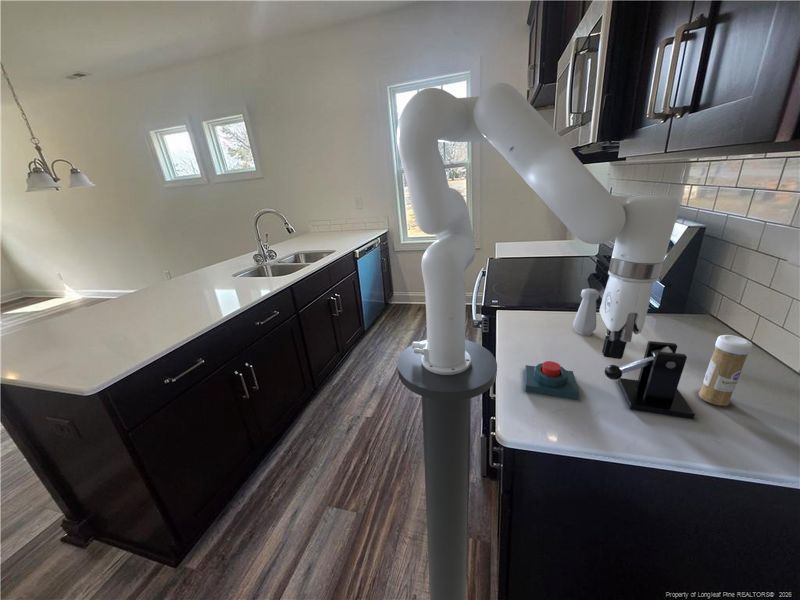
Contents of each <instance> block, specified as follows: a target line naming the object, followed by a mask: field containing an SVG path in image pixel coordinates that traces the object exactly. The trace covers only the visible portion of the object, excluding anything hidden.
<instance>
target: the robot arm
mask: <svg viewBox="0 0 800 600" xmlns="http://www.w3.org/2000/svg"><path fill="white" fill-rule="evenodd" d="M439 142H442V143H470V142H471V143H472V142H474V143H475V142H489V143H490V145H492V146H493V147H494V148H495V149H496V150H497V152H499V153H500V155H501V156H502V157H503V158H504V159H505V160H506V161H507V162H508V163H509V165H510V166H511V167H512V168H513V169H514V170H515V171H516V172H517V174H519V176H520V177H521V178H522V179H523V180H524V182H525V183H526V184H527V185H528V186H529V187H530V188H531V189H532V190H533V191H534V192H535V193H536V194H537V195H538V197H539V198H540V199H541V200H542V201H543V203H545V205H546V206H547V207H548V208H549V209H550V210H551V212H552V213H553V214H554V216H556V217H557V218H558V219H559V220H560V222H561V223H562V224H563V225H564V226H565V227H566V228H567V230H569V231H570V232H571V233H572V234H573V235H574V237H576V239H578V240H580V241H581V242H583V243H586V244H589V245H603V244H605V243H608V242H610V241H612V240H614V239H615V240H614V246H613V249H612V254H611V258H610V262H609V267H608V271H607V274H608V275H609V276H608V279H607V282H606V285H605V289H604V292H603V296H602V299H601V303H600V306H599V316H600V317H601V319H602V321H603V323H604V325H605V326H606V334H605V336H604V341H603V345H602V350H601V353H602V355H603V357H604V358H608V359H617V360H621V359H623V357H624V354H625V350H626V346H627V343H631V342H632V338H633V334H635V335H639V334H641V332H642V330H643V328H644V324H645V323H646V322H645V321H646V319H647V314H648V311H649V307H650V302H651V297H652V291H653V285H654V283H655V282H658V281H659V279H660V276H661V272H662V269H663V266H664V263H665V258H666V255H667V252H668V249H669V246H670V242H671V239H672V235H673V232H674V229H675V225H676V222H677V218H678V214H679V211H680V208H681V207H680V206H681V204H680V201H679V199H678V198H676V197H674V196H669V195H657V194H656V195H655V194H654V195H653V194H652V195H650V194H649V195H648V194H646V195H645V194H644V195H634V196H623V195H615V194H611V192H609V190H608V189H607V188H606V187H605V186H604V185H603V184H602V183H601V182H600V181H599V179H598V178H596V176H595V175H594V174H593V173H592V172H591V171H590V170H589V169H588V168H587V167H586V166H585V165H584V164H583V163H582V162H581V160H580V159H579V158H578V156H576V154H575V153H574V151H573V150H572V148H571V147H570V146H569V144H568V142H566V141H565V140H564V138H563V137H562V136H561V134H559V133H558V132H557V131H556V130H555V129H554V128H553V126H552V125H551V124H550V123H549V122H548V121H547V120H546V119H545V118H544V117H543V116H542V115H541V114H540V113H539V112H538V111H537V110H536V108H535V107H534V106H533V105H532V104H531V103H530V102H529V101H528V99H526V98H525V97H524V95H523V94H521V93H520V92H519V90H518V89H517V88H516V87H514V86H513V85H511V84H509V83H505V82H497V83H495V84H494V83H493V84H492V85H490V86H488V87H487V88H485V89H484V90H483V91H482V92H481V94H480V95H479V96H469V97H468V96H467V97H457V96H456V95H453V94H452V93H451V92H448V91H446V90H444V89H442V88H438V87H426V88H424V89H421V90H419V91H418V92H416V93H415V94H414V95H413V96H412V97H411V98H410V99H409V100H408V101H407V103H406V104H405V106H404V108H403V109H402V112H401V114H400V116H399V119H398V123H397V129H396V144H397V151H398V154H399V155H398V156H399V159H400V162H401V167H402V170H403V172H404V177H405V181H406V182H405V183H406V186H407V191H408V194H409V197H410V198H409V199H410V203H411V207H412V211H413V216H414V219H415V222H416V225H417V226H418V228H419V229H420V231H421V232H423V233H424V234H427V235H431V236H435V240H436V241H434V242H432V243H431V244H430V245H429V246H428V247H427V248H426V249H425V251H424V253H423V255H422V257H421V266H420V267H421V274H422V275H421V276H422V279H423V285H424V296H425V316H426V317H425V318H426V319H425V321H426V339H427V342H424V343H420V342H419V341H412V343H411V345H412V349H414V353H417V354H422V364H423V366H424V367H425V368H426V369H427V370H429V371H431V372H433V373H436V374H441V375H454V374H459V373H462V372H464V371H465V370H467V369H468V368H469V367H470V365H471V356H470V355H469V353H468V352H466V351H465V340H466V325H467V324H466V323H467V322H466V320H467V319H466V317H467V311H466V310H467V290H466V282H465V271H466V270H467V269H468V268H469V267H470V265H472V263H473V262H474V260H475V257H476V251H477V248H476V240H475V236H474V235H475V234H474V232H473V225H472V220H471V217H470V211H469V207H468V204H467V202H466V199H465V198H464V196H463V194H462V193H461V192H459V190H457V189H456V188H452V187H450V186H449V182H448V181H449V180H448V177H447V171H446V166H445V162H444V161H443V157H442V155H441V152H440V148H439Z"/></svg>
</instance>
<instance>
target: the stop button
mask: <svg viewBox="0 0 800 600" xmlns="http://www.w3.org/2000/svg"><path fill="white" fill-rule="evenodd" d="M542 363H543V366H542V372H543V374H545V375H547V376H551V377H558V376H559V375H560V371H561V367H562V366H561V364H559V363H558V362H555V361H551V360H548V361H547V360H546V361H544V362H542Z"/></svg>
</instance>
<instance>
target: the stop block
mask: <svg viewBox="0 0 800 600" xmlns="http://www.w3.org/2000/svg"><path fill="white" fill-rule="evenodd" d="M543 363H544V362H541V363H537V365H529V364H526V365H524V366H525V367H524V387H525V390H524V391H525V392H526V393H533V394H537V395H545V396H551V397H557V398H558V397H559V398H565V399H572V400H578V398H579V390H578V389H579V388H578V386H577V382H576V378H575V374H574V371H573V370H568V369H567V370H566V368H564V367H563V366H561V371H560V375H559V376H558V377H551V376H547V375H545V374H543V372H542V366H543Z"/></svg>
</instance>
